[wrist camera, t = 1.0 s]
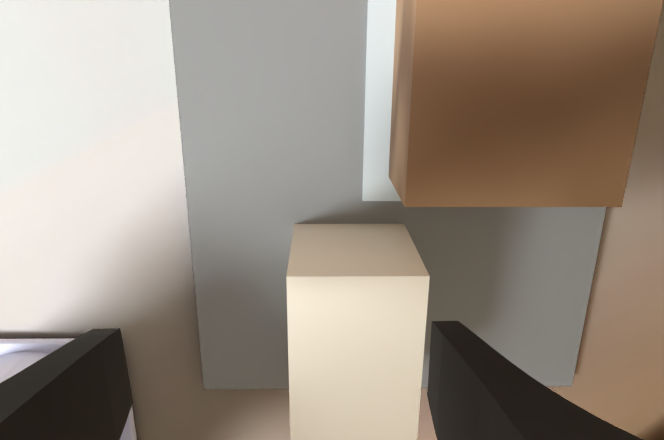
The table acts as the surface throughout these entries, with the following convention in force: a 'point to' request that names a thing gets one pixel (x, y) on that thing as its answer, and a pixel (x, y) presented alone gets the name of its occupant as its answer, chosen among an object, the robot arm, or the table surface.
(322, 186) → the gray mat
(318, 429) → the cream block
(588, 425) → the robot arm
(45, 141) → the table surface
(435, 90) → the walnut block
